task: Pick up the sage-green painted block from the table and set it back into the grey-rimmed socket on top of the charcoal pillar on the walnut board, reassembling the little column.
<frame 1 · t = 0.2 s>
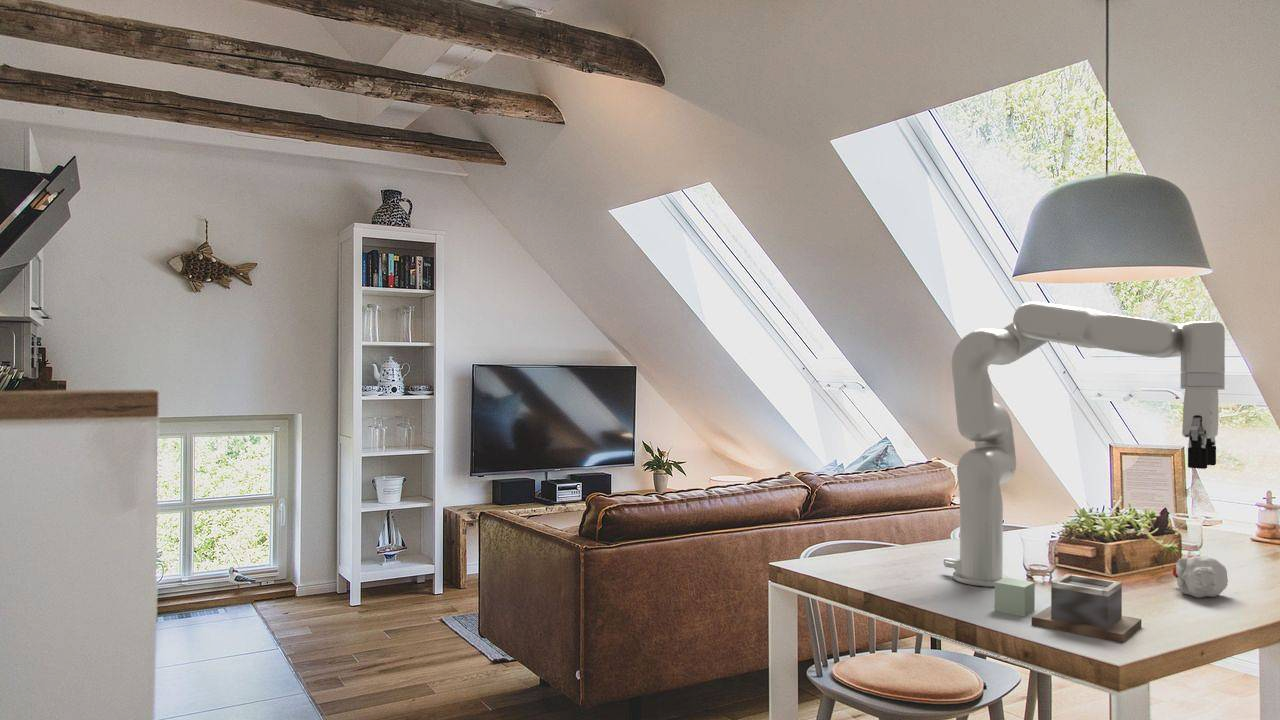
hand: (1202, 466, 174), 31 cm above the table, fingers open, 9 cm apart
pillar base: (1086, 625, 168), on the table
sage block: (1014, 611, 178), on the table
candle: (1198, 594, 194), on the table
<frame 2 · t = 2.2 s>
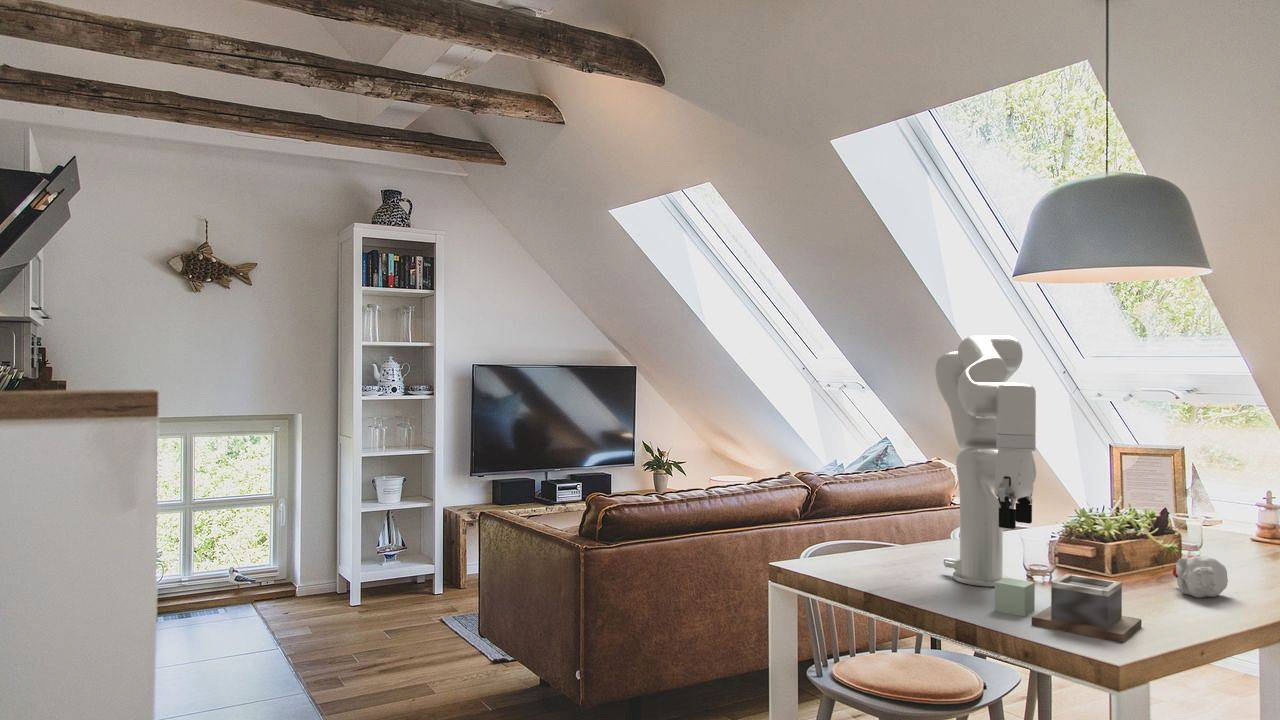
hand: (1015, 525, 178), 18 cm above the table, fingers open, 9 cm apart
nothing on the table moved.
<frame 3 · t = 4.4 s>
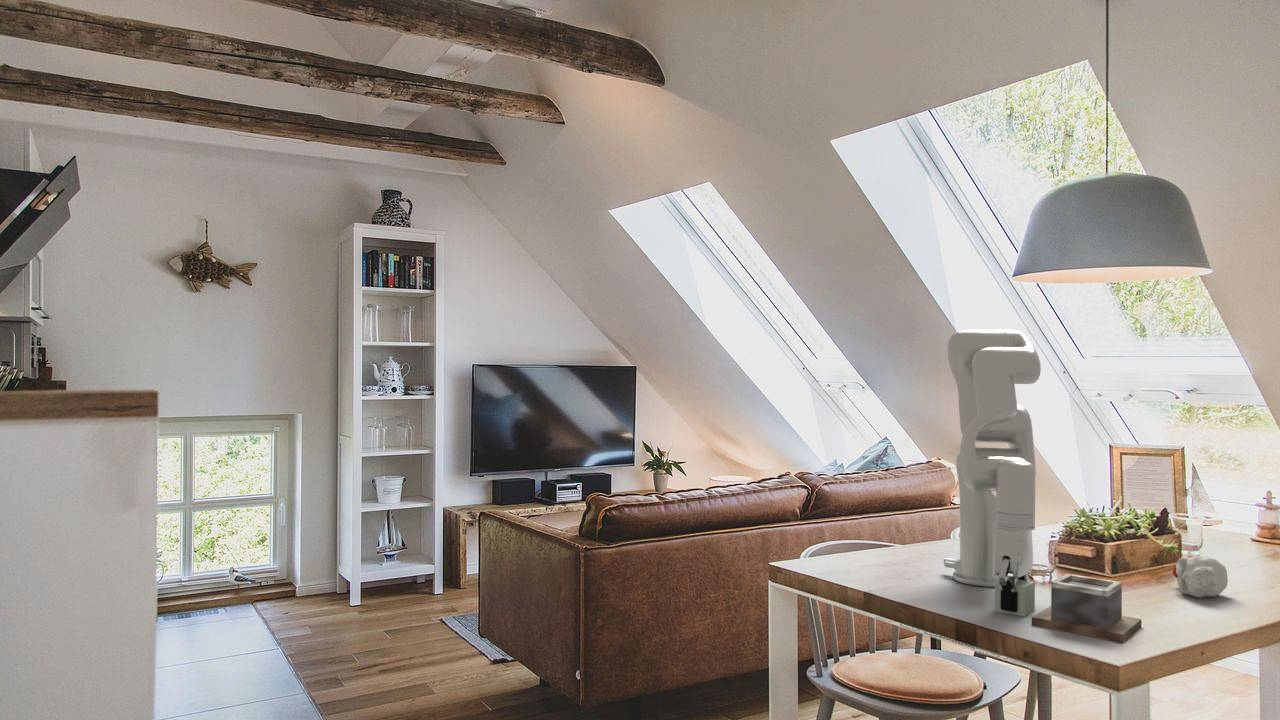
hand: (1014, 606, 178), 1 cm above the table, fingers closed on sage block, 6 cm apart
sage block: (1014, 610, 178), on the table, touching gripper
everything else where it was.
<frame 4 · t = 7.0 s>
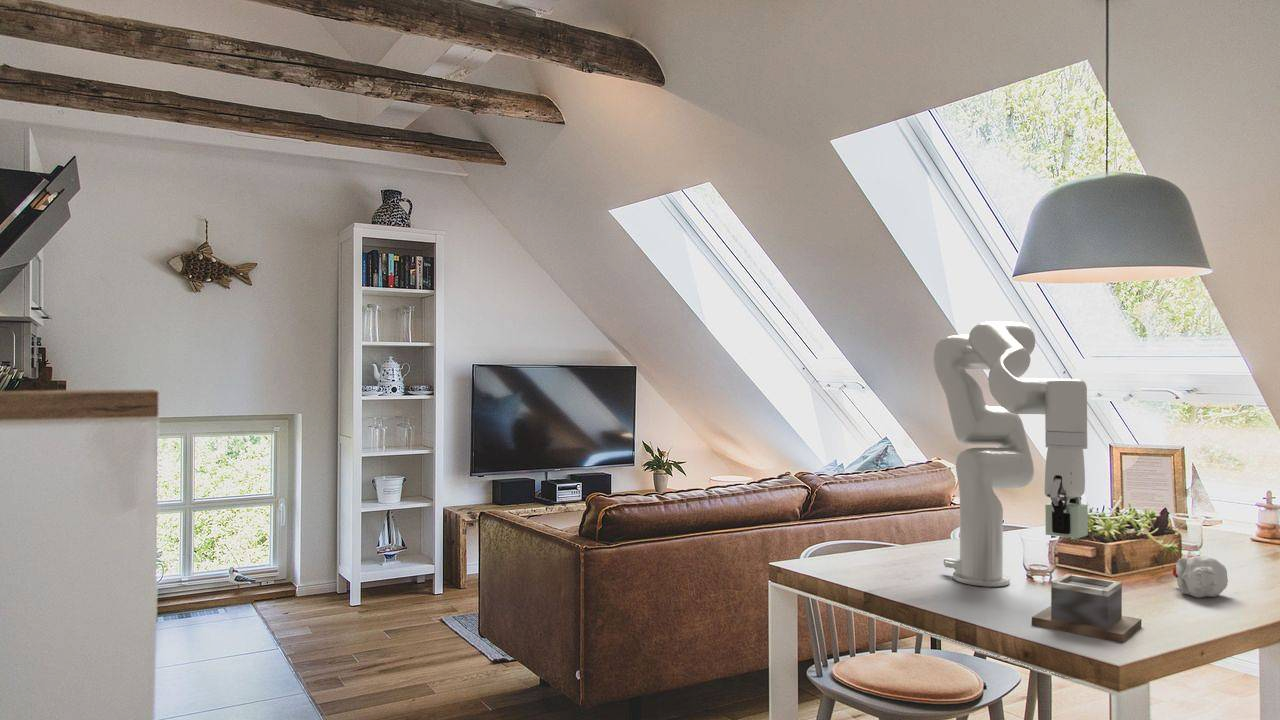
hand: (1066, 530, 171), 18 cm above the table, fingers closed on sage block, 6 cm apart
sage block: (1066, 534, 171), point 17 cm above the table, touching gripper
everything else where it was.
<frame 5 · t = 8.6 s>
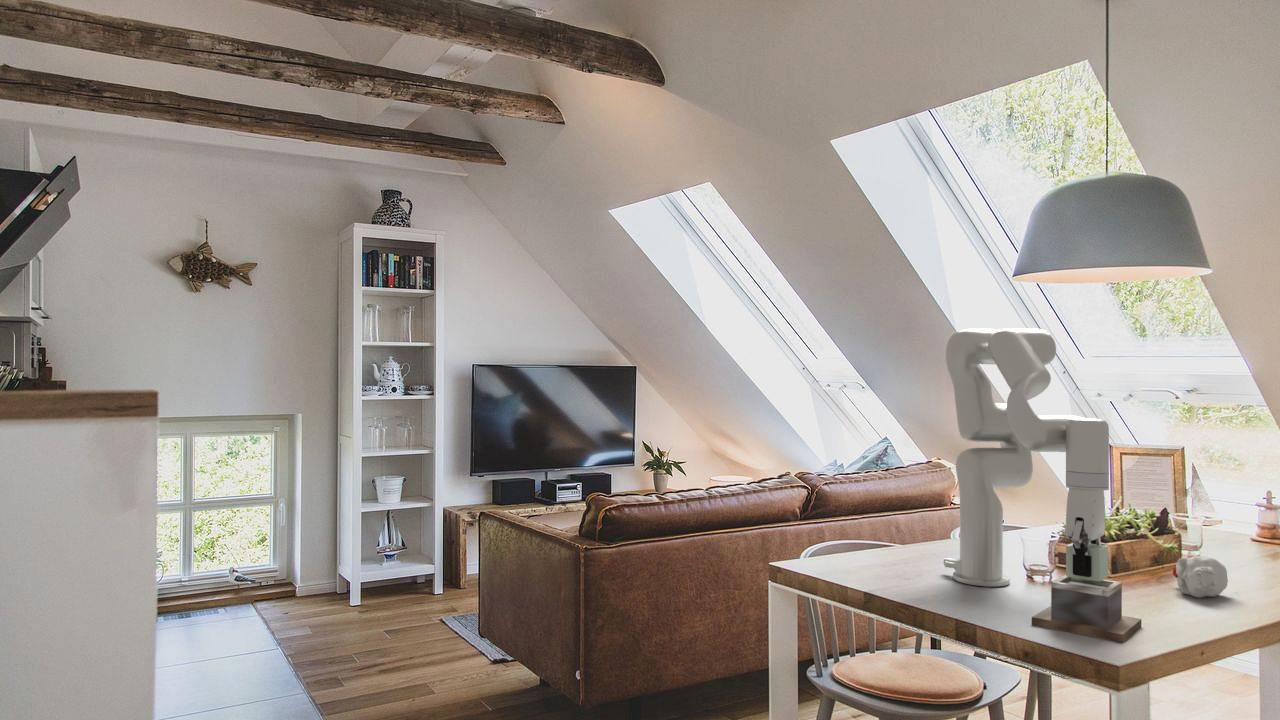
hand: (1087, 572, 168), 10 cm above the table, fingers closed on sage block, 6 cm apart
sage block: (1087, 576, 168), point 10 cm above the table, touching gripper
everything else where it was.
when the fingers open (10 cm above the table, at t = 9.9 s): sage block drops 1 cm, resting on pillar base.
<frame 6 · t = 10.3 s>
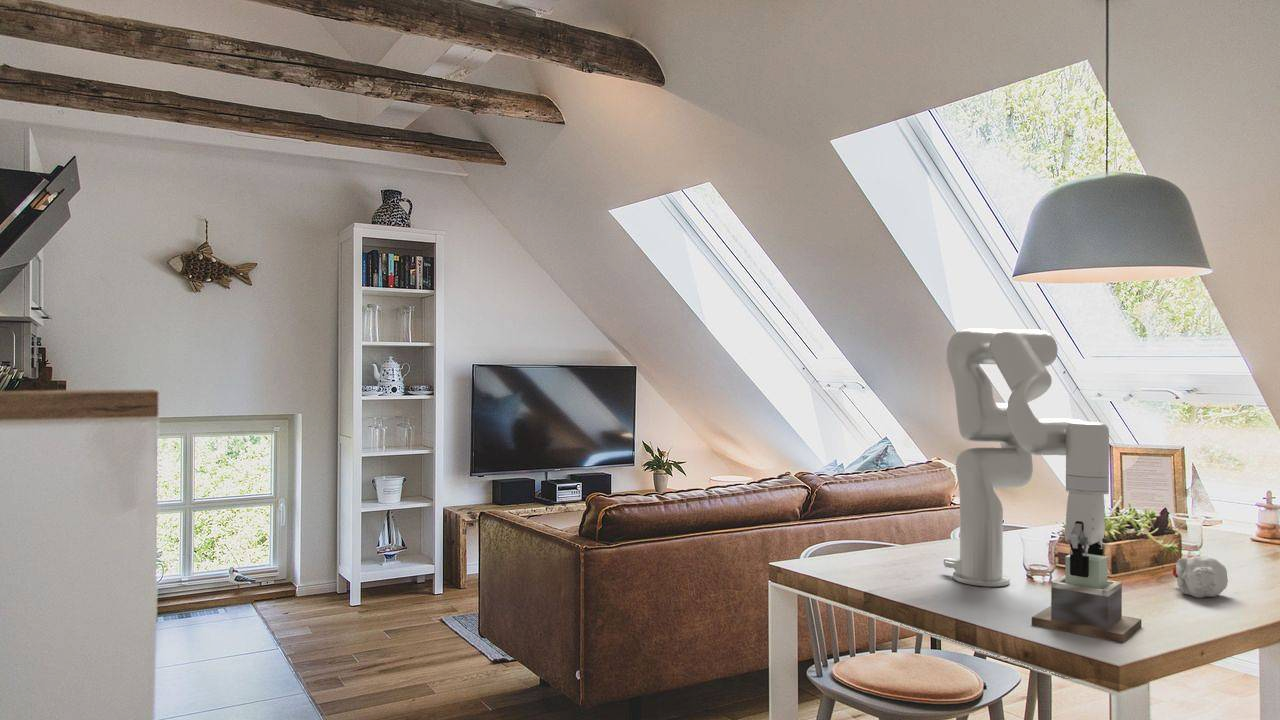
hand: (1086, 572, 168), 10 cm above the table, fingers open, 9 cm apart
sage block: (1086, 587, 168), point 7 cm above the table, touching pillar base
everything else where it was.
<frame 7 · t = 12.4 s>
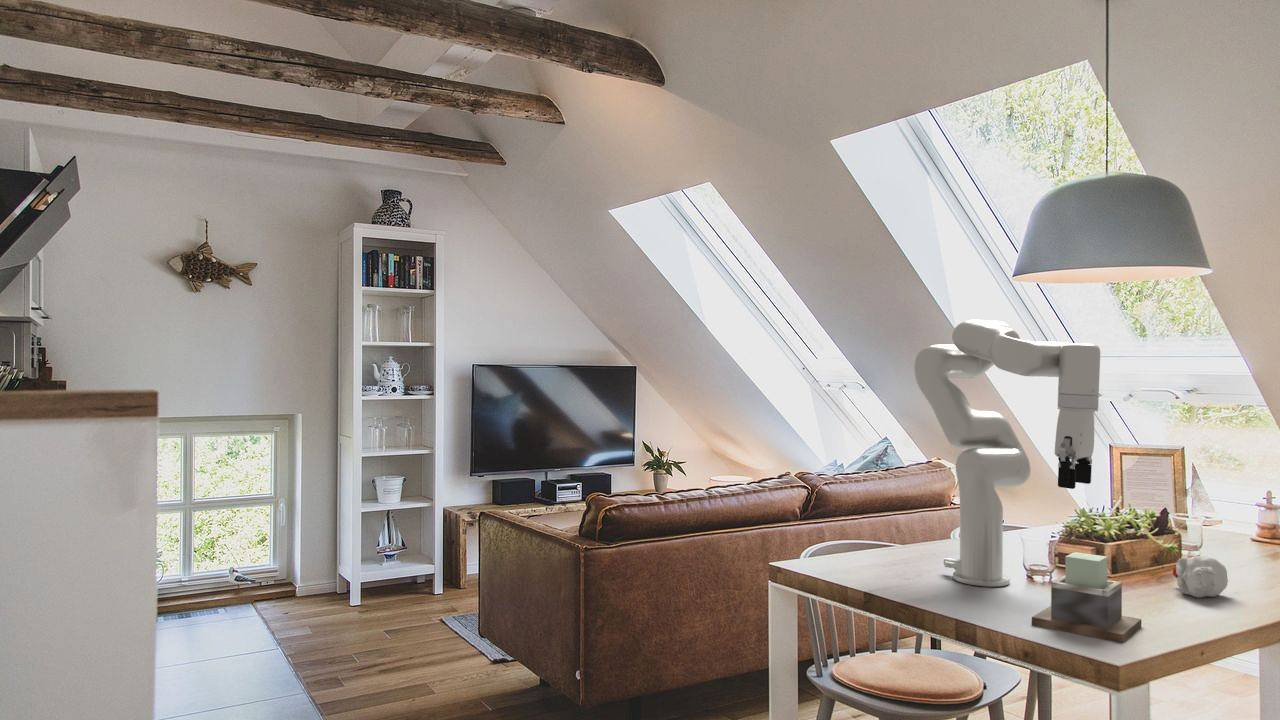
hand: (1074, 485, 178), 26 cm above the table, fingers open, 9 cm apart
nothing on the table moved.
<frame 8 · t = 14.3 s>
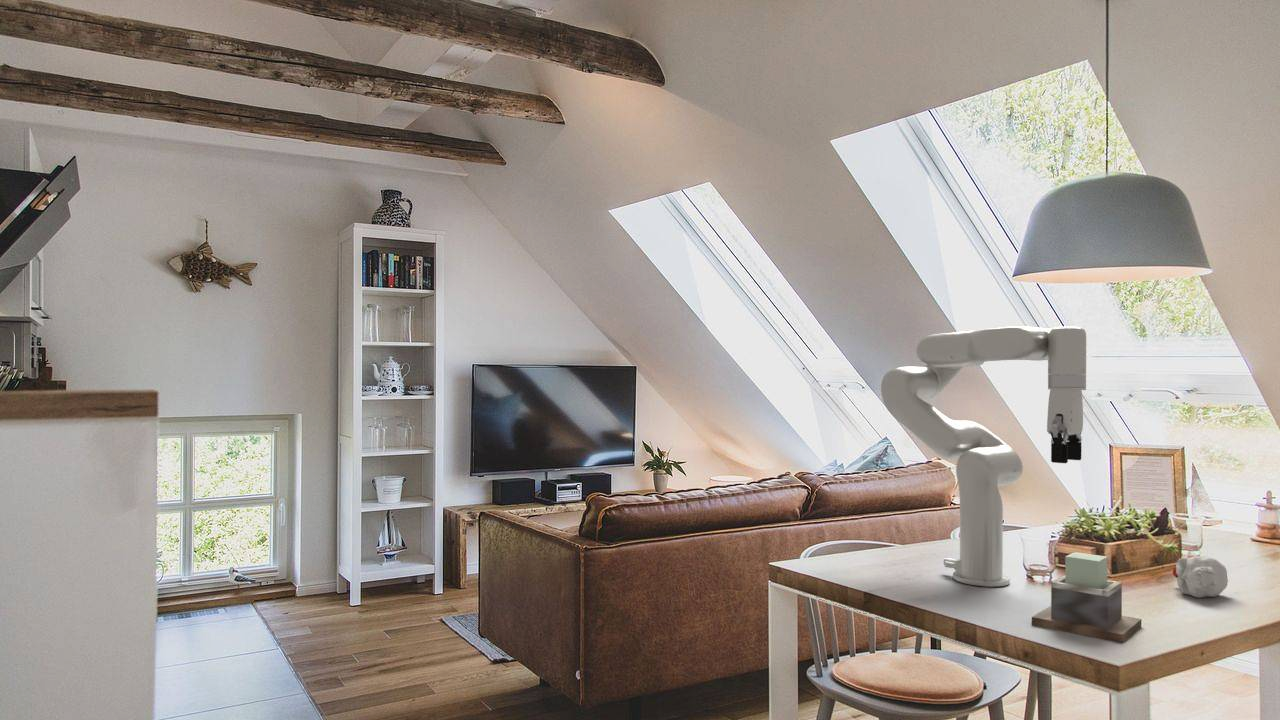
hand: (1066, 461, 188), 30 cm above the table, fingers open, 9 cm apart
nothing on the table moved.
at the end: sage block 0.1 cm off-centre on the pillar base, point 7.5 cm above the pillar base's base; sage block tilted 0°; the gripper is holding nothing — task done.
